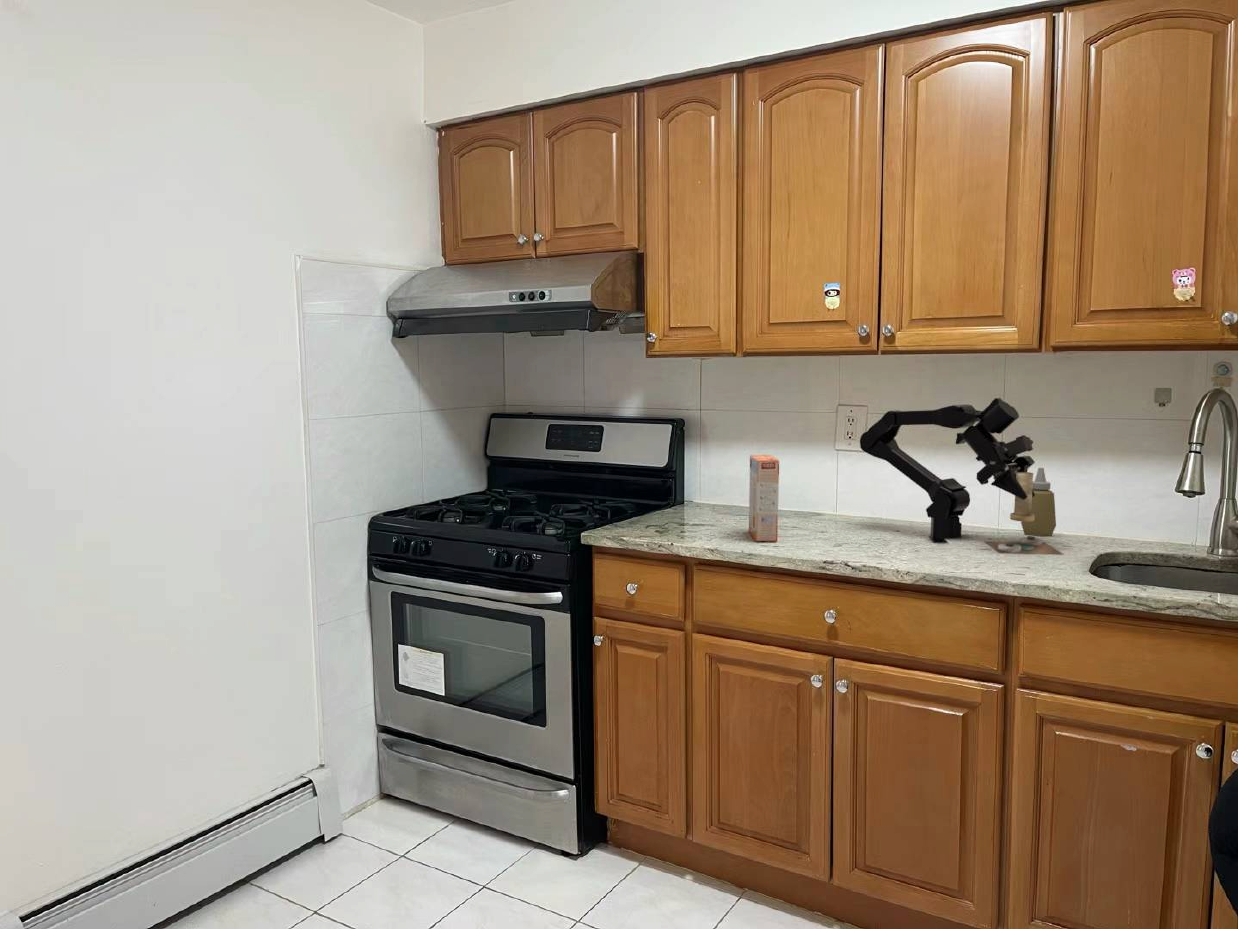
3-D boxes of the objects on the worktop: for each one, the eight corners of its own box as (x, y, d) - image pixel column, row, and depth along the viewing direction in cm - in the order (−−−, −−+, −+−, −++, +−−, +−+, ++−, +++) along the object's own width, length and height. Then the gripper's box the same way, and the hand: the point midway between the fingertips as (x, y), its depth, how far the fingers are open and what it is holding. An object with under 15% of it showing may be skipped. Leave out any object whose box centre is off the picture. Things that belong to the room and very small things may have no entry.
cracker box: (779, 542, 223) (780, 459, 220) (755, 542, 223) (755, 459, 221) (770, 532, 237) (771, 453, 234) (748, 532, 237) (748, 454, 234)
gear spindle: (1013, 521, 206) (1016, 474, 204) (1007, 517, 211) (1009, 471, 210) (1037, 521, 205) (1040, 474, 204) (1030, 517, 210) (1033, 471, 209)
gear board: (998, 558, 203) (999, 545, 203) (983, 546, 217) (984, 534, 216) (1063, 559, 201) (1064, 546, 201) (1044, 547, 214) (1045, 535, 214)
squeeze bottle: (1035, 542, 221) (1039, 470, 219) (1013, 536, 229) (1016, 466, 226) (1062, 540, 223) (1066, 469, 221) (1039, 534, 231) (1042, 465, 229)
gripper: (992, 426, 202) (1038, 479, 195) (1028, 422, 214) (1073, 472, 207) (957, 457, 209) (1001, 510, 202) (994, 451, 221) (1037, 501, 214)
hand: (1029, 497), depth 206 cm, fingers closed on gear spindle, 4 cm apart
